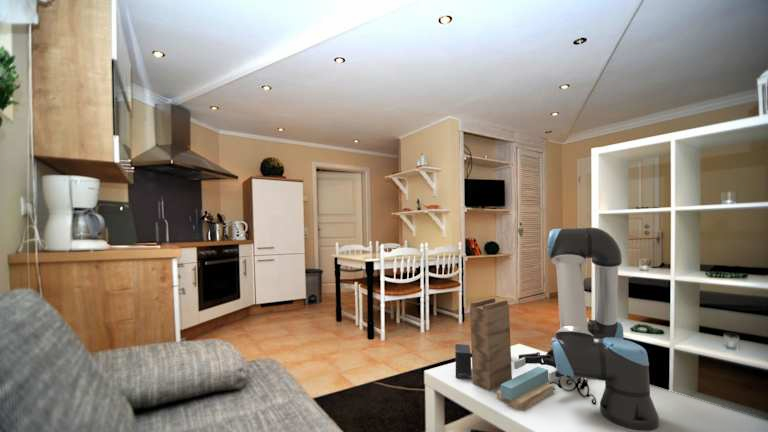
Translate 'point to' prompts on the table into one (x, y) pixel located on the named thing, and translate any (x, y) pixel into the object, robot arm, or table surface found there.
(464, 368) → the small box
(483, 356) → the stand
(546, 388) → the oak board
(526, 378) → the rod
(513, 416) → the table surface
